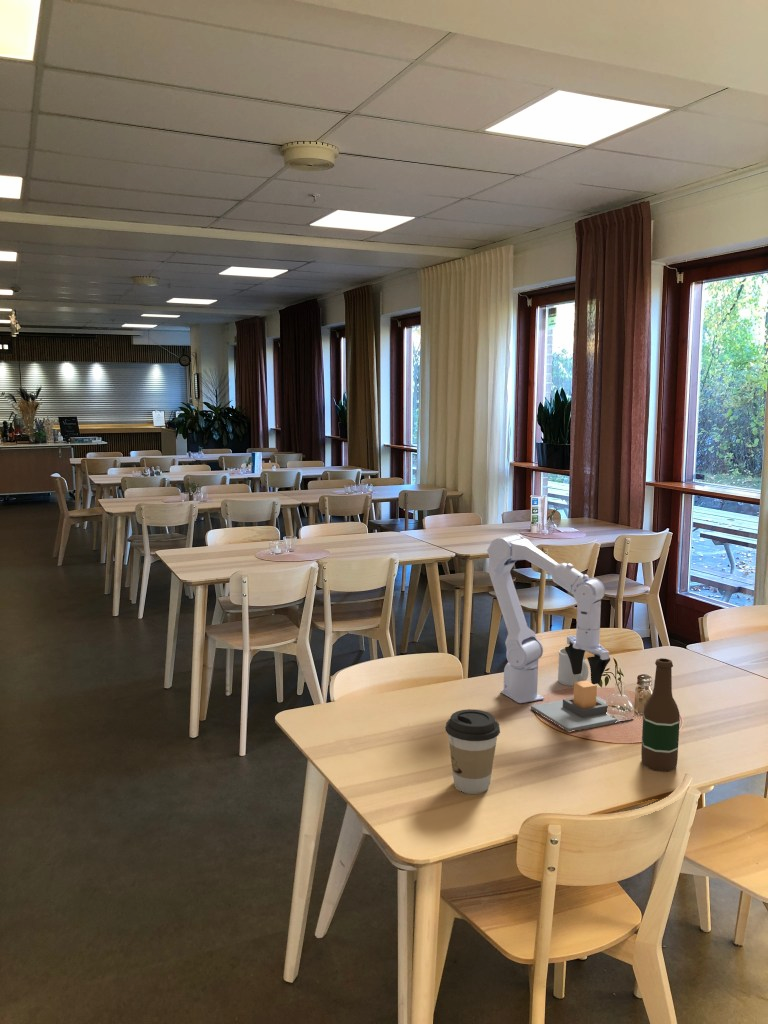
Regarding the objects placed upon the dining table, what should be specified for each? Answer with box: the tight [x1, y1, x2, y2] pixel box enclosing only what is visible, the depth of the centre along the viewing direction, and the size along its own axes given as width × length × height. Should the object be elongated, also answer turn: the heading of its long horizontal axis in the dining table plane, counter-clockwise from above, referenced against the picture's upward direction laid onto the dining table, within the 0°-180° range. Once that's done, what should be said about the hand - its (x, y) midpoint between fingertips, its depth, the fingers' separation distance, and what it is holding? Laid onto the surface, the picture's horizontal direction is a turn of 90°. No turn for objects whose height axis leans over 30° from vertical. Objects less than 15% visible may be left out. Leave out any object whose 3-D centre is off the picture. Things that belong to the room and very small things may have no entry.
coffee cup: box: [445, 708, 501, 795], centre depth 169 cm, size 11×11×15 cm
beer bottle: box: [640, 657, 681, 773], centre depth 178 cm, size 8×8×24 cm
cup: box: [557, 647, 589, 687], centre depth 229 cm, size 7×10×9 cm
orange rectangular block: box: [573, 679, 598, 708], centre depth 208 cm, size 4×4×7 cm
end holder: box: [530, 695, 635, 732], centre depth 208 cm, size 16×20×3 cm
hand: (586, 678), depth 207 cm, fingers open, 7 cm apart
